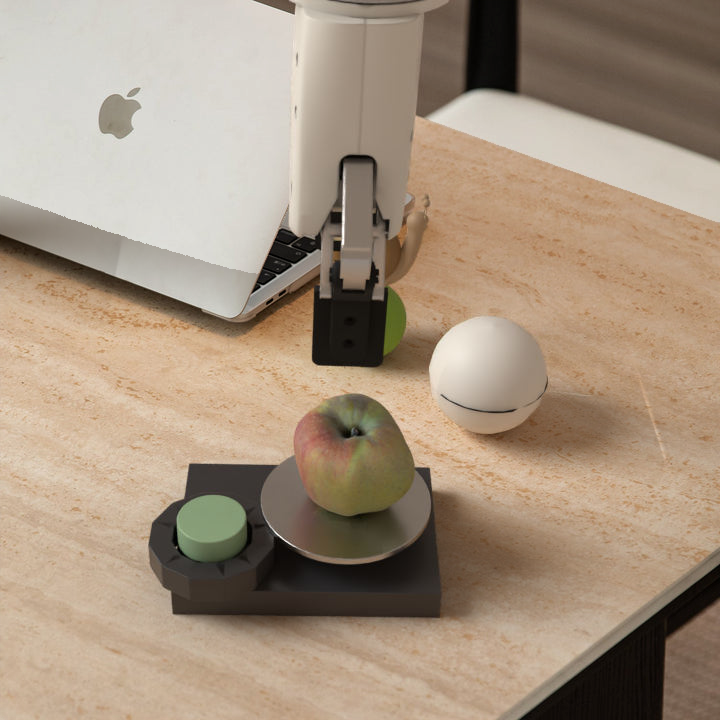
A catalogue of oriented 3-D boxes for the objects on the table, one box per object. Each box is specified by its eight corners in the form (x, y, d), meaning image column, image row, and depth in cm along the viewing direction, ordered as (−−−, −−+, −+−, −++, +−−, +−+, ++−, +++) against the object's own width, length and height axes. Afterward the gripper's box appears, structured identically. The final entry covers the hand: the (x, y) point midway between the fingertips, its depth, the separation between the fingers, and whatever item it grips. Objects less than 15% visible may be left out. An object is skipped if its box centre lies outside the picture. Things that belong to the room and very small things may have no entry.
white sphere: (403, 433, 78) (410, 337, 74) (456, 373, 83) (465, 280, 79) (550, 490, 74) (567, 392, 70) (596, 424, 79) (614, 329, 75)
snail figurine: (422, 375, 83) (435, 218, 76) (326, 376, 82) (330, 218, 75) (414, 329, 87) (426, 176, 80) (323, 330, 87) (326, 176, 80)
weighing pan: (256, 563, 63) (256, 558, 63) (264, 447, 71) (264, 442, 71) (436, 566, 64) (436, 560, 63) (425, 450, 71) (425, 444, 71)
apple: (322, 434, 71) (324, 351, 68) (435, 495, 67) (444, 410, 64) (251, 488, 67) (249, 402, 64) (367, 556, 64) (372, 468, 60)
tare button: (174, 563, 64) (173, 541, 63) (181, 515, 67) (180, 493, 66) (245, 564, 64) (244, 542, 63) (248, 516, 67) (248, 494, 66)
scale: (146, 626, 64) (142, 578, 62) (169, 486, 73) (165, 441, 71) (440, 629, 65) (445, 582, 63) (427, 491, 74) (431, 445, 71)
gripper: (279, -119, 57) (275, 209, 67) (260, 27, 43) (259, 413, 53) (443, -111, 57) (414, 215, 67) (477, 36, 43) (434, 418, 53)
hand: (346, 302), depth 60 cm, fingers open, 9 cm apart
